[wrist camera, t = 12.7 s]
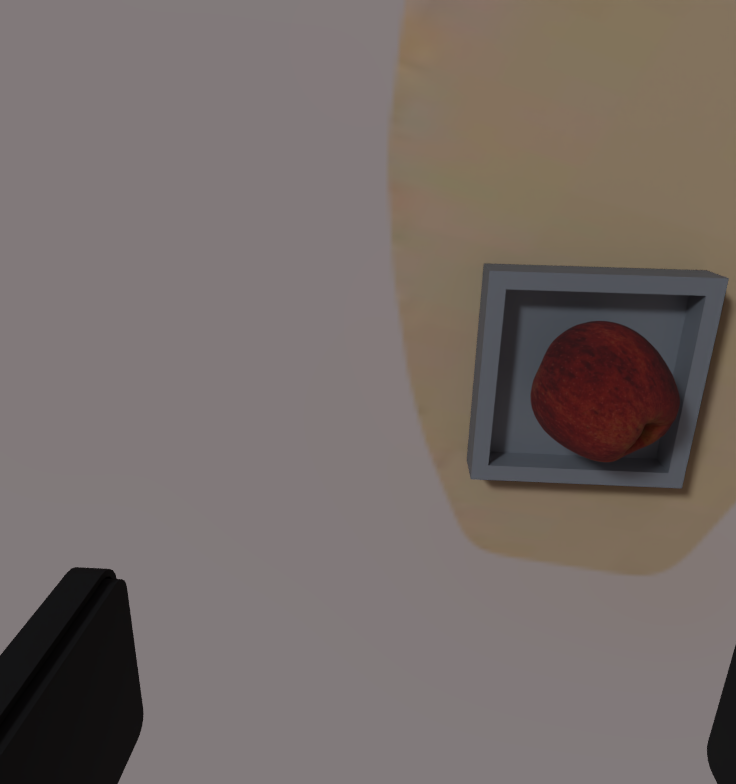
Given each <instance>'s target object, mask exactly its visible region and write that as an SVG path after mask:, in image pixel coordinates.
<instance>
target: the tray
mask: <svg viewBox="0 0 736 784" xmlns="http://www.w3.org/2000/svg"><path fill="white" fill-rule="evenodd" d="M728 279H729V278H726V277H724V276H721V275H718V274H715V273H713V272H710V271H707V270H676V269H644V268H611V267H579V266H547V265H514V264H484V267H483V279H482V290H481V302H480V314H479V325H478V337H477V348H476V360H475V371H474V383H473V394H472V406H471V417H470V429H469V440H468V452H467V464H468V468H469V473H470V478H471V479H479V480H502V481H525V482H548V483H571V484H593V485H616V486H639V487H662V488H682V485H683V481H684V476H685V472H686V467H687V463H688V459H689V454H690V450H691V445H692V441H693V436H694V432H695V427H696V423H697V418H698V414H699V409H700V405H701V400H702V396H703V391H704V387H705V382H706V378H707V373H708V369H709V364H710V360H711V355H712V351H713V347H714V342H715V338H716V333H717V329H718V324H719V320H720V315H721V311H722V306H723V302H724V297H725V293H726V288H727V284H728ZM591 321H609V322H614V323H618V324H621V325H624V326H627V327H629V328H631V329H633V330H634V331H636V332H638V333H639V334H640V335H642V336H643V337H644V338H645V339H646V340H647V341H649V342H650V343H651V344H652V345H653V346H654V348H655V349H656V350H657V351H658V352H659V354H660V355H661V357H662V358H663V360H664V361H665V363H666V364H667V366H668V368H669V369H670V371H671V373H672V375H673V377H674V380H675V382H676V385H677V388H678V391H679V397H680V405H679V410H678V414H677V416H676V419H675V420H674V422H673V423H672V425H671V427H670V428H669V430H668V431H667V432H666V434H665V435H664V436H662V437H661V438H659V439H658V440H657V441H655V442H654V443H652V444H650V445H648V446H646V447H643V448H641V449H639V450H636V451H634V452H632V453H630V454H628V455H626V456H624V457H622V458H620V459H618V460H616V461H613V462H598V461H594V460H591V459H588V458H585V457H583V456H580V455H578V454H576V453H574V452H572V451H571V450H569V449H567V448H565V447H564V446H562V445H561V444H559V443H558V442H557V441H555V440H554V439H553V438H551V437H550V436H549V435H548V434H547V433H546V432H545V431H544V430H543V428H542V427H541V426H540V424H539V423H538V421H537V419H536V417H535V415H534V413H533V410H532V406H531V397H530V394H531V388H532V384H533V380H534V377H535V375H536V373H537V371H538V369H539V366H540V364H541V362H542V360H543V357H544V355H545V353H546V351H547V349H548V348H549V346H550V344H551V343H552V342H553V341H554V340H555V339H556V338H557V337H558V336H559V335H560V334H562V333H563V332H564V331H566V330H568V329H569V328H571V327H573V326H575V325H578V324H582V323H586V322H591Z"/></svg>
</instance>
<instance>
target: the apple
mask: <svg viewBox="0 0 736 784" xmlns="http://www.w3.org/2000/svg"><path fill="white" fill-rule="evenodd" d="M530 397H531V406H532V410H533V413H534V415H535V417H536V419H537V421H538V423H539V424H540V426H541V427H542V428H543V430H544V431H545V432H546V433H547V434H548V435H549V436H550V437H551V438H553V439H554V440H555V441H557V442H558V443H559V444H561V445H562V446H564V447H565V448H567V449H569V450H571V451H572V452H574V453H576V454H578V455H580V456H583V457H585V458H588V459H591V460H594V461H598V462H613V461H616V460H618V459H620V458H622V457H624V456H626V455H628V454H630V453H632V452H634V451H636V450H639V449H641V448H643V447H646V446H648V445H650V444H652V443H654V442H655V441H657V440H658V439H659V438H661V437H662V436H664V435H665V434H666V432H667V431H668V430H669V428H670V427H671V425H672V423H673V422H674V420H675V419H676V416H677V414H678V410H679V405H680V397H679V391H678V388H677V385H676V382H675V380H674V377H673V375H672V373H671V371H670V369H669V368H668V366H667V364H666V363H665V361H664V360H663V358H662V357H661V355H660V354H659V352H658V351H657V350H656V349H655V348H654V346H653V345H652V344H651V343H650V342H649V341H647V340H646V339H645V338H644V337H643V336H642V335H640V334H639V333H638V332H636V331H634V330H633V329H631V328H629V327H627V326H624V325H621V324H618V323H614V322H609V321H591V322H586V323H582V324H578V325H575V326H573V327H571V328H569V329H568V330H566V331H564V332H563V333H562V334H560V335H559V336H558V337H557V338H556V339H555V340H554V341H553V342H552V343H551V344H550V346H549V348H548V349H547V351H546V353H545V355H544V357H543V360H542V362H541V364H540V366H539V369H538V371H537V373H536V375H535V377H534V380H533V384H532V388H531V394H530Z"/></svg>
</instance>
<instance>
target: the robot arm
mask: <svg viewBox="0 0 736 784" xmlns="http://www.w3.org/2000/svg"><path fill="white" fill-rule="evenodd" d="M142 722H143V705H142V698H141V690H140V682H139V675H138V667H137V660H136V652H135V645H134V638H133V630H132V622H131V615H130V607H129V600H128V593H127V586H126V583H125V581H124V580H122V579H121V580H120V579H116V575H115V573H114V571H113V570H111V569H99V568H98V569H97V568H78V567H75V568H72V569H71V570H70V571H68V572H67V574H66V575H65V576H64V577H63V578H62V580H61V581H60V582H59V583H58V585H57V586H56V587H55V588H54V590H53V591H52V592H51V593H50V595H49V596H48V597H47V598H46V600H45V601H44V602H43V603H42V605H41V606H40V607H39V608H38V610H37V611H36V612H35V613H34V615H33V616H32V617H31V618H30V619H29V621H28V622H27V623H26V624H25V626H24V627H23V628H22V629H21V630H20V632H19V633H18V634H17V635H16V637H15V638H14V639H13V641H12V642H11V643H10V644H9V645H8V647H7V648H6V649H5V650H4V652H3V653H2V654H1V655H0V784H118V782H119V779H120V777H121V775H122V773H123V770H124V768H125V766H126V764H127V762H128V760H129V757H130V755H131V753H132V751H133V748H134V746H135V744H136V742H137V740H138V737H139V735H140V731H141V727H142ZM707 755H708V762H709V766H710V769H711V771H712V773H713V775H714V778H715V779H716V781H717V784H736V646H735V649H734V653H733V656H732V660H731V664H730V667H729V670H728V674H727V678H726V681H725V684H724V688H723V691H722V695H721V699H720V702H719V705H718V709H717V713H716V716H715V720H714V723H713V726H712V730H711V733H710V737H709V741H708V745H707Z"/></svg>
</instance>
